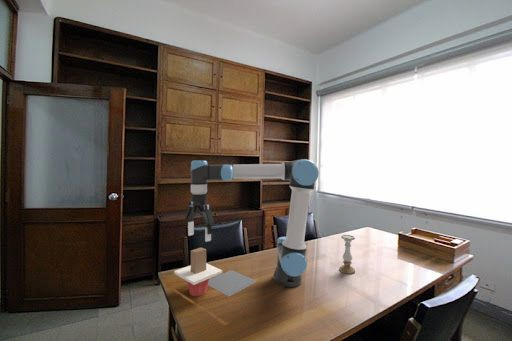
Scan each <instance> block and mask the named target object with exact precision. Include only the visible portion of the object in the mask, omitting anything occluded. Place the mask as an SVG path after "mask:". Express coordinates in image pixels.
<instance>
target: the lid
mask: <svg viewBox="0 0 512 341" xmlns="http://www.w3.org/2000/svg"><path fill="white" fill-rule="evenodd" d="M173 273H174V275H175V276H176V275H177V277H179V278H180V279H183V280H184V281H186V282H187V281H188V282H190V283H191V284H193V285H195V284H197V283H200V282H202V281H205V280H207V279H211V278H214V277H216V276H218V275H221V274H223V270H222V269H221V268H218V267H216V266H214V265H211V264H209V263H207V249H206V248H203V247H198V248H195V249H192V250H190V265H187V266H186V267H182V268H179V269H176V270H174V272H173Z"/></svg>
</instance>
